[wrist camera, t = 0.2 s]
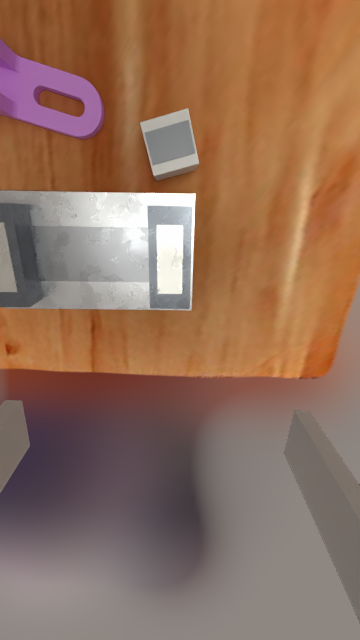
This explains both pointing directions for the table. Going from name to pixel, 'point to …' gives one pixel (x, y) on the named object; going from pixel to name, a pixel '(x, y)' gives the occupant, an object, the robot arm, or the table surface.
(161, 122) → the block
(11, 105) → the bracket
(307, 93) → the table surface
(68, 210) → the rail board
